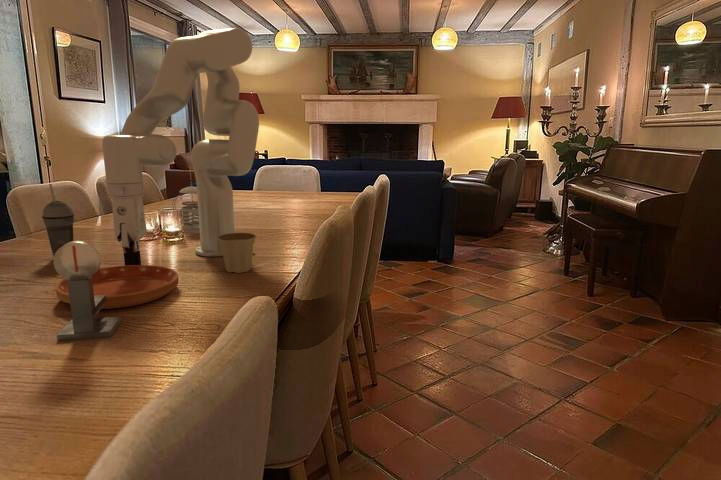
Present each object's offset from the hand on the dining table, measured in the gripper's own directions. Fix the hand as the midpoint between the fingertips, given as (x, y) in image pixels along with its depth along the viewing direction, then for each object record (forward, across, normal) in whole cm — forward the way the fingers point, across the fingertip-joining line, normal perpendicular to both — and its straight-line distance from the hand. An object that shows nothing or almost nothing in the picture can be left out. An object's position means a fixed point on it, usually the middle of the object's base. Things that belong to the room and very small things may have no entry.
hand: (133, 267), depth 112 cm
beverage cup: (+2, +21, +22) cm, 31 cm away
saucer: (+3, -13, 0) cm, 13 cm away
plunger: (0, -27, 0) cm, 27 cm away
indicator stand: (+2, -32, 0) cm, 32 cm away
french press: (+2, +55, -7) cm, 55 cm away
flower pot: (+2, +1, -24) cm, 24 cm away
